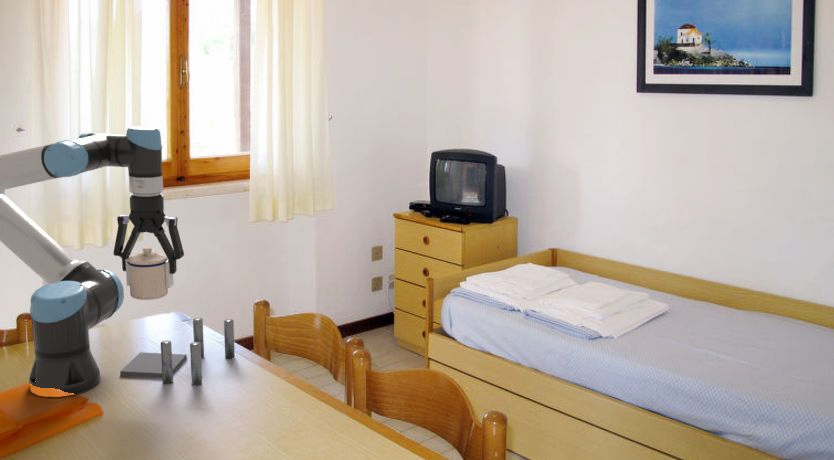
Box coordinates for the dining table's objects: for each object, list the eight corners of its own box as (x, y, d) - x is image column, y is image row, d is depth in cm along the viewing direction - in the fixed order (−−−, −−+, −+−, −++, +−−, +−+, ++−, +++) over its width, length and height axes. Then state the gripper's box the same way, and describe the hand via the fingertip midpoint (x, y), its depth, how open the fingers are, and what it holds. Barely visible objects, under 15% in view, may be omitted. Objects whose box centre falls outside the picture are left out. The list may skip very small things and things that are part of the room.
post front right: (190, 385, 185) (188, 345, 182) (193, 381, 187) (192, 341, 185) (200, 386, 184) (198, 346, 182) (203, 381, 187) (202, 342, 184)
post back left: (193, 357, 201) (191, 320, 198) (196, 354, 203) (194, 317, 201) (202, 358, 201) (200, 321, 198) (205, 354, 203) (203, 317, 201)
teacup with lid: (176, 294, 190) (174, 248, 187) (142, 303, 183) (139, 255, 180) (149, 284, 197) (147, 239, 195) (115, 291, 191) (113, 245, 188)
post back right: (223, 359, 200) (222, 322, 198) (226, 355, 203) (225, 318, 200) (233, 359, 200) (232, 322, 198) (235, 356, 203) (234, 319, 200)
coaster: (120, 375, 189) (120, 371, 189) (140, 356, 201) (140, 352, 200) (169, 378, 188) (169, 373, 188) (186, 359, 200) (186, 354, 200)
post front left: (161, 384, 185) (158, 344, 183) (164, 379, 187) (162, 340, 185) (171, 384, 185) (169, 344, 183) (174, 380, 187) (172, 340, 185)
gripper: (94, 193, 181) (99, 287, 186) (186, 198, 180) (189, 292, 185) (108, 188, 189) (113, 278, 194) (197, 192, 188) (199, 283, 193)
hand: (150, 285), depth 190 cm, fingers closed on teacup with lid, 9 cm apart
